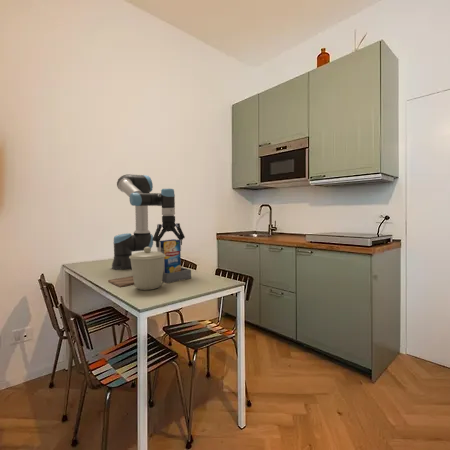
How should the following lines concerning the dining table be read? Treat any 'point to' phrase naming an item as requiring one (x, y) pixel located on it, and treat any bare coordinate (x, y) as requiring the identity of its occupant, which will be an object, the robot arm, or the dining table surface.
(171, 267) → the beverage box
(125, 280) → the walnut board
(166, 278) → the grey bin
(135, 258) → the canister
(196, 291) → the dining table surface
